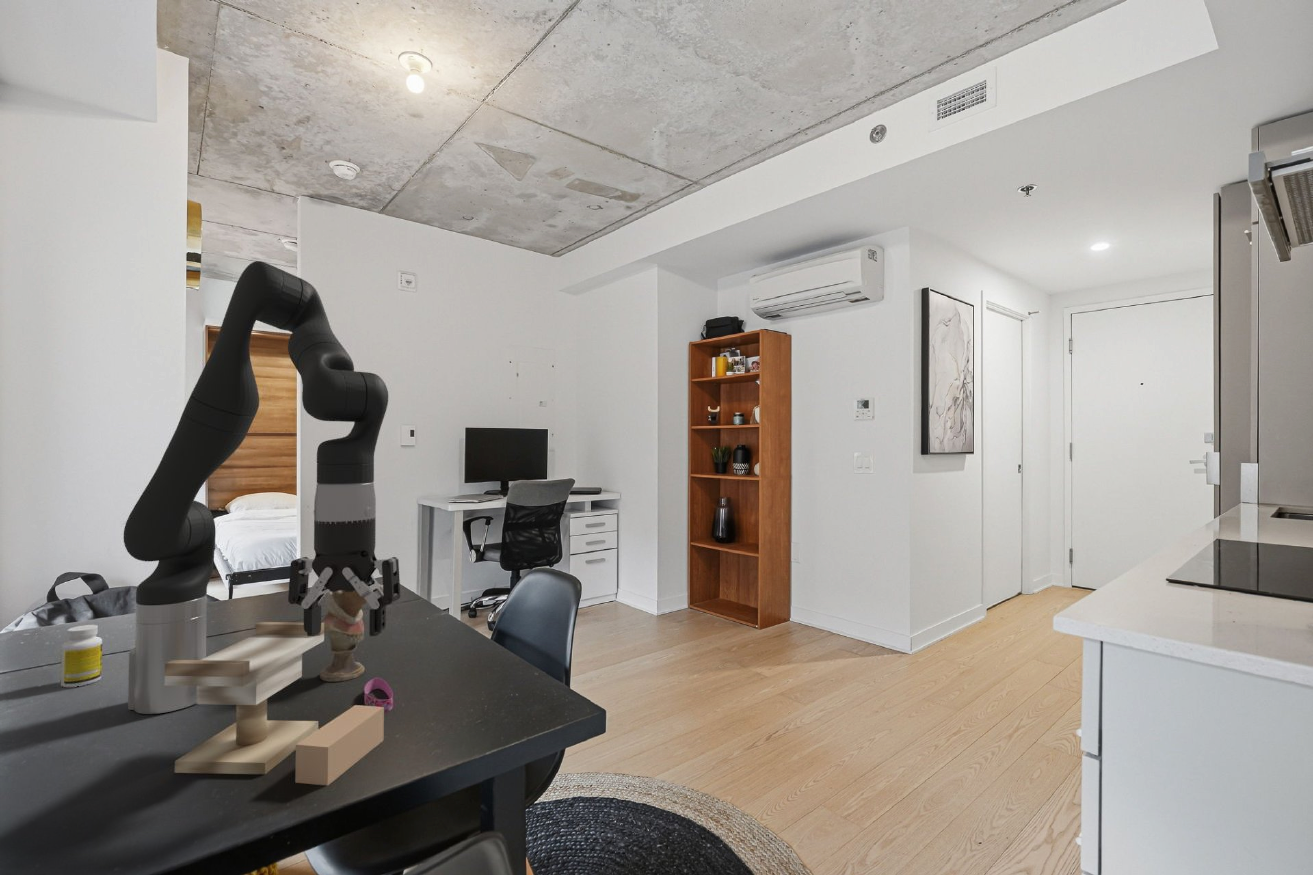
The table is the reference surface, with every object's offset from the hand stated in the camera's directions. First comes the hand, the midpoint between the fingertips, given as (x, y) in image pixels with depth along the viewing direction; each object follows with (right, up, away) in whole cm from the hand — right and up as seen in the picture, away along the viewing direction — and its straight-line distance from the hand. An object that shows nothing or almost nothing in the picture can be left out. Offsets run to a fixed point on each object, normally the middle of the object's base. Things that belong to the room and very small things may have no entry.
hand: (344, 634), depth 84 cm
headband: (-4, -18, +19) cm, 26 cm away
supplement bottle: (-60, -17, +26) cm, 68 cm away
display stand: (-14, -17, +2) cm, 22 cm away
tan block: (0, -17, 0) cm, 17 cm away
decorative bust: (-14, -17, +30) cm, 38 cm away
